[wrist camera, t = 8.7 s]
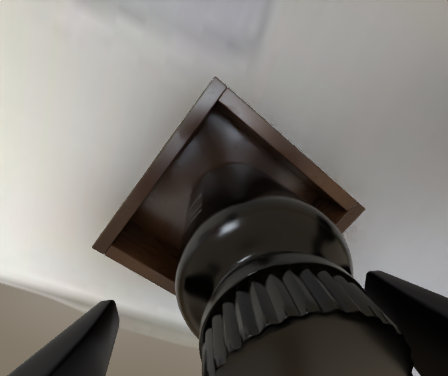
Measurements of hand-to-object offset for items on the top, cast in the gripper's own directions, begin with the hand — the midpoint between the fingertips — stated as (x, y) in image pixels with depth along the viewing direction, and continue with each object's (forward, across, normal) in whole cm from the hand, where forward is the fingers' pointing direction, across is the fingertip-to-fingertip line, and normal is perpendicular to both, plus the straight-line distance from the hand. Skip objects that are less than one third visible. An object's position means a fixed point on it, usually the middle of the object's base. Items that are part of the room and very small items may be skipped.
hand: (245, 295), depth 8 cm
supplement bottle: (+9, -1, 0) cm, 9 cm away
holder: (+9, 0, 0) cm, 9 cm away
